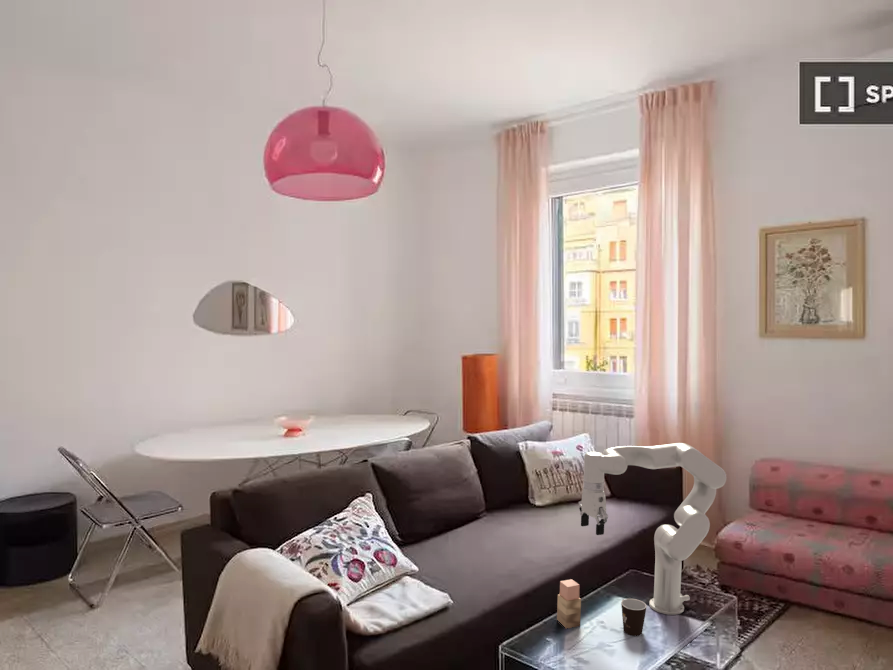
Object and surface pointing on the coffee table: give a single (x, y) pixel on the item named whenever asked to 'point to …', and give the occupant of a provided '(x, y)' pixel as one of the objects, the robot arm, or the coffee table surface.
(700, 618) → the coffee table surface
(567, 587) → the terracotta block
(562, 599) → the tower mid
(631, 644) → the coffee table surface
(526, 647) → the coffee table surface
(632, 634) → the coffee mug
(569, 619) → the tower base
